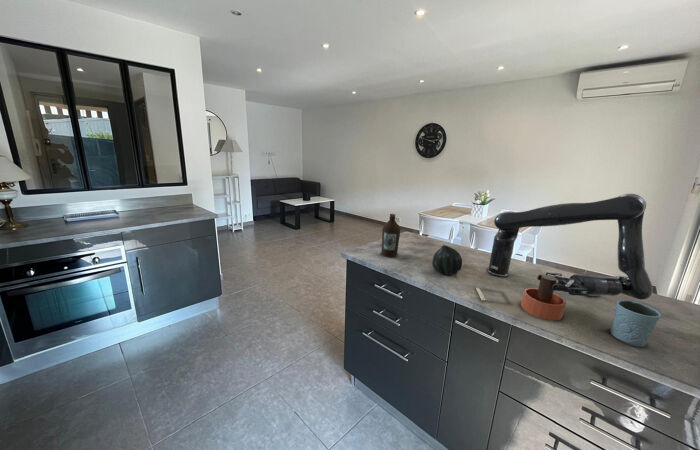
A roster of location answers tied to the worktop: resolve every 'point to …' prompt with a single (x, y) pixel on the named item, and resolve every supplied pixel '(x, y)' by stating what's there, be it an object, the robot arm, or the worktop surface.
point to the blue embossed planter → (634, 322)
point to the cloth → (480, 294)
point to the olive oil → (390, 237)
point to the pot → (543, 305)
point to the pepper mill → (546, 289)
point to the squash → (447, 260)
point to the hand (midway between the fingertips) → (545, 282)
